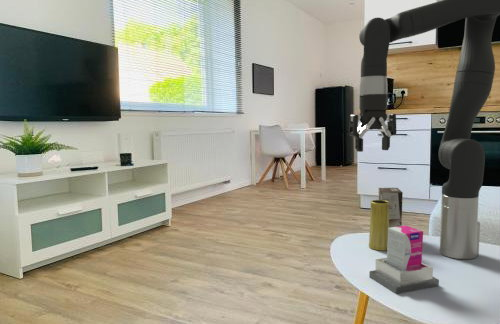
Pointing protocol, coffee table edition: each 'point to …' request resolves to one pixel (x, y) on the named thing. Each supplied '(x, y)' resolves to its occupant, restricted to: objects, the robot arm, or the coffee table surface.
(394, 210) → the coffee box
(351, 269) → the coffee table surface
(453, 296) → the coffee table surface
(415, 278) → the square tray
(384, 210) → the vase
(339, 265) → the coffee table surface
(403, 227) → the supplement box
